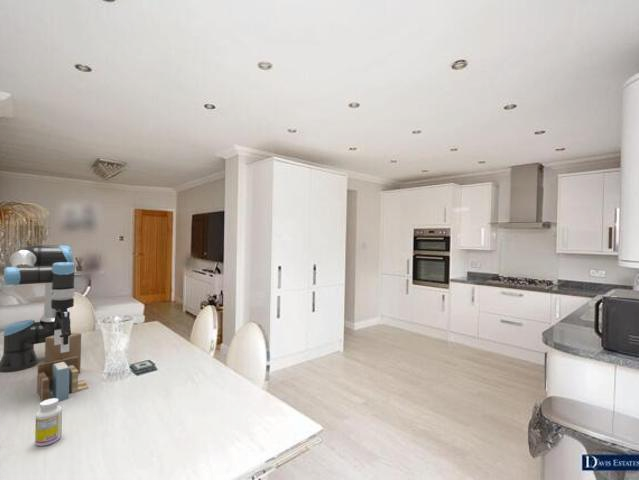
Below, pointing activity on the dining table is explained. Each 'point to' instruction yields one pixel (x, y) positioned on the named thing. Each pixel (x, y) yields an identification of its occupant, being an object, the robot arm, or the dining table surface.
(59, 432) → the supplement bottle
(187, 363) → the dining table surface
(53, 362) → the shelf corner
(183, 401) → the dining table surface
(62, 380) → the book box
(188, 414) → the dining table surface
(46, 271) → the robot arm
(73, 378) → the bookend
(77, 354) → the wooden block
